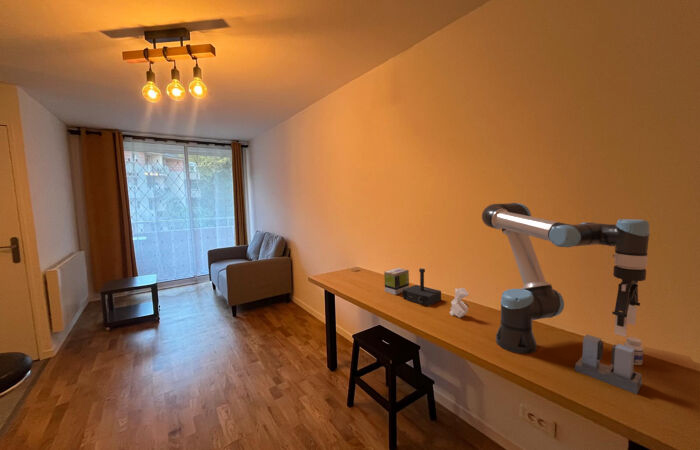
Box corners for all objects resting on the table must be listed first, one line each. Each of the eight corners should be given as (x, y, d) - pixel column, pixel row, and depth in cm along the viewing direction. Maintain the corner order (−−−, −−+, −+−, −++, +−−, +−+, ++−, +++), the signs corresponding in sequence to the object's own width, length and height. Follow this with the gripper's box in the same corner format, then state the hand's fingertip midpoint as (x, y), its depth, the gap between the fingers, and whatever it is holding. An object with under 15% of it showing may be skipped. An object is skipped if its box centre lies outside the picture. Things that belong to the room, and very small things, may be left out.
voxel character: (449, 300, 161) (462, 283, 152) (463, 318, 153) (478, 301, 145) (440, 302, 157) (454, 286, 148) (454, 321, 150) (469, 304, 141)
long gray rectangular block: (610, 374, 96) (611, 346, 95) (613, 370, 98) (615, 342, 97) (629, 381, 92) (631, 352, 91) (632, 376, 94) (634, 348, 93)
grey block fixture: (574, 370, 102) (576, 337, 101) (581, 363, 106) (583, 331, 105) (637, 394, 89) (639, 357, 88) (641, 384, 94) (644, 349, 93)
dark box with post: (400, 299, 178) (400, 269, 177) (416, 293, 190) (415, 264, 188) (427, 308, 164) (427, 274, 163) (441, 300, 175) (441, 269, 174)
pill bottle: (622, 356, 111) (623, 334, 110) (641, 360, 107) (642, 338, 106) (623, 362, 106) (625, 339, 106) (643, 367, 103) (645, 344, 102)
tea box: (398, 287, 204) (398, 267, 203) (409, 290, 196) (409, 269, 195) (384, 291, 194) (384, 271, 193) (395, 295, 187) (395, 273, 185)
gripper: (622, 259, 102) (618, 315, 104) (604, 270, 87) (599, 335, 89) (653, 262, 96) (648, 322, 98) (638, 275, 81) (632, 345, 83)
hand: (625, 329), depth 93 cm, fingers open, 13 cm apart
